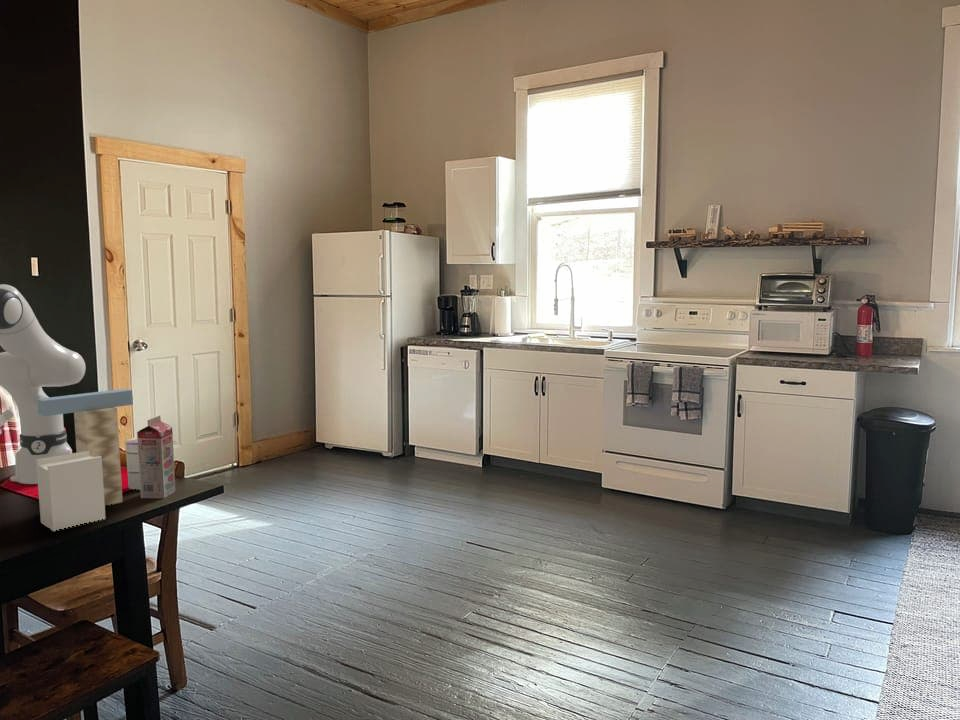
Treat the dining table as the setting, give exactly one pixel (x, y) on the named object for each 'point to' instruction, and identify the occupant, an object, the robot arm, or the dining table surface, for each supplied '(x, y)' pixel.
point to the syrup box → (133, 463)
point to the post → (102, 447)
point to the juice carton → (156, 459)
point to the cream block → (70, 490)
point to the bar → (84, 402)
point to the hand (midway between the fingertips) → (5, 410)
